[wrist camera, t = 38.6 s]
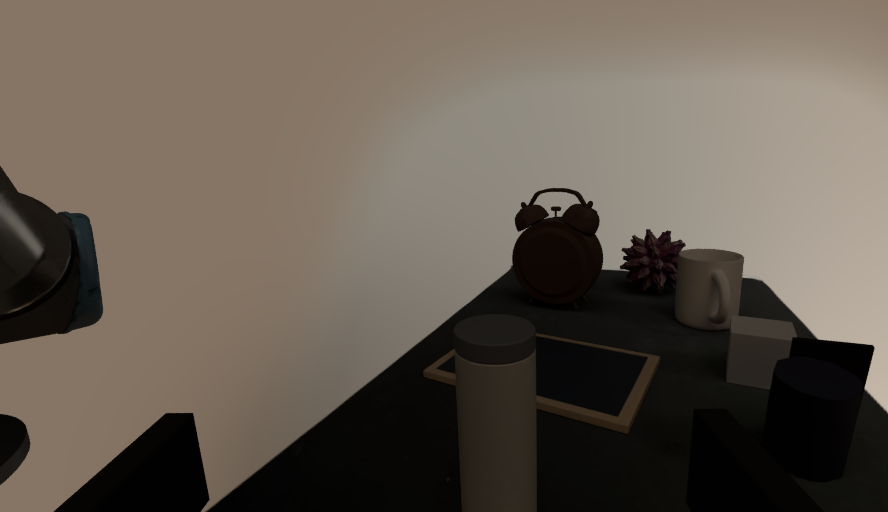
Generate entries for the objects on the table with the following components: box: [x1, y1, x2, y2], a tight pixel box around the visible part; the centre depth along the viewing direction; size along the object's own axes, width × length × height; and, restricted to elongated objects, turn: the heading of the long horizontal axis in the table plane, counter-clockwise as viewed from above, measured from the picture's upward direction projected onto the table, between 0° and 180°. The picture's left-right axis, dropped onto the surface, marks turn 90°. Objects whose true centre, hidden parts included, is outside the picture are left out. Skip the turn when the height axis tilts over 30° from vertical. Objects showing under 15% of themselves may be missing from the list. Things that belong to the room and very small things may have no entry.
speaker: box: [762, 337, 874, 482], centre depth 39 cm, size 8×6×10 cm
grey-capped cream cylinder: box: [453, 314, 537, 512], centre depth 25 cm, size 4×4×18 cm
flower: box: [620, 229, 686, 295], centre depth 83 cm, size 12×12×12 cm
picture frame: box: [423, 333, 660, 434], centre depth 57 cm, size 24×17×1 cm
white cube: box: [726, 315, 797, 390], centre depth 53 cm, size 6×6×6 cm
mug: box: [675, 249, 744, 331], centre depth 67 cm, size 12×8×10 cm
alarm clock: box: [512, 188, 603, 309], centre depth 78 cm, size 15×7×20 cm, turn 57°
